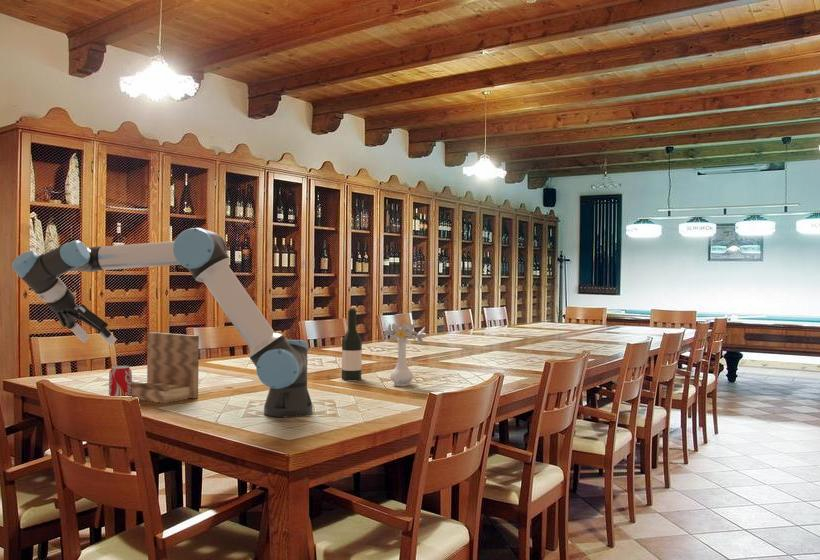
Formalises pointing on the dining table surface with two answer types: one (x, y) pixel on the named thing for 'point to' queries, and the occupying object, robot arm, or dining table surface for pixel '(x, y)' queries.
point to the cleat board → (170, 368)
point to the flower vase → (403, 351)
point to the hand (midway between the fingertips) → (100, 341)
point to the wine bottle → (351, 350)
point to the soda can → (120, 381)
